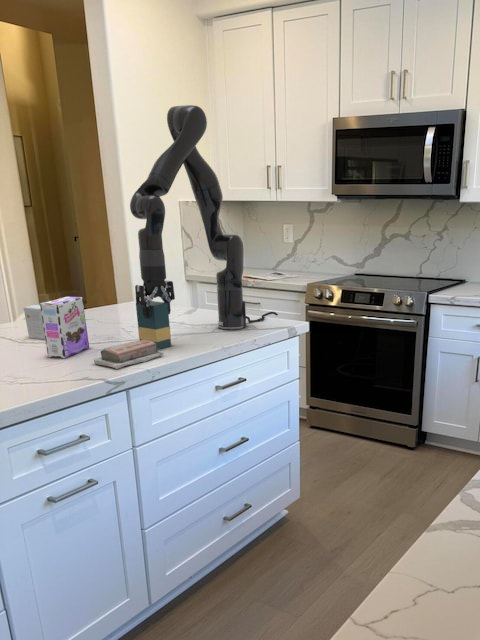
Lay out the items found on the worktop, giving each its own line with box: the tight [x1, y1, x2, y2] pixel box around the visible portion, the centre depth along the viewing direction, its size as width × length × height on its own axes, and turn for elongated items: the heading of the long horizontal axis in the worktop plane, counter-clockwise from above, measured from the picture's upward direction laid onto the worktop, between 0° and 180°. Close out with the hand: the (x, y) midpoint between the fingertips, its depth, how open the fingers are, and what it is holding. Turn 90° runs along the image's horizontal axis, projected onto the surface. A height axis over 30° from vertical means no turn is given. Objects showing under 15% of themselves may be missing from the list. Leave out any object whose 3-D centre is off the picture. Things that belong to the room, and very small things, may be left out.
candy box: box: [39, 296, 90, 359], centre depth 186 cm, size 14×6×16 cm, turn 168°
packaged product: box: [93, 339, 164, 370], centre depth 180 cm, size 18×5×10 cm
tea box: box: [135, 300, 172, 351], centre depth 196 cm, size 14×6×8 cm
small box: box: [23, 304, 46, 341], centre depth 206 cm, size 8×6×10 cm
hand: (157, 316), depth 193 cm, fingers open, 8 cm apart
